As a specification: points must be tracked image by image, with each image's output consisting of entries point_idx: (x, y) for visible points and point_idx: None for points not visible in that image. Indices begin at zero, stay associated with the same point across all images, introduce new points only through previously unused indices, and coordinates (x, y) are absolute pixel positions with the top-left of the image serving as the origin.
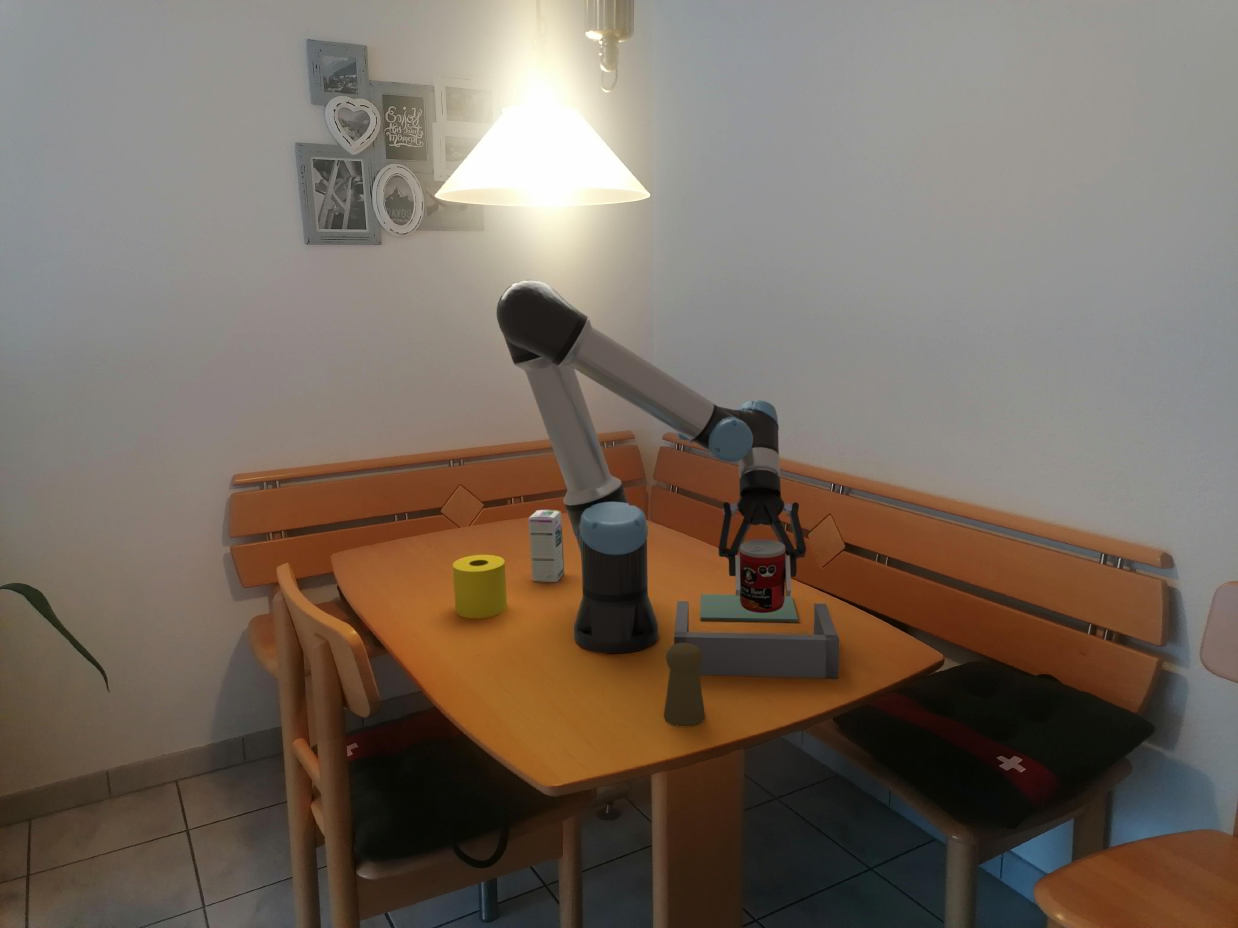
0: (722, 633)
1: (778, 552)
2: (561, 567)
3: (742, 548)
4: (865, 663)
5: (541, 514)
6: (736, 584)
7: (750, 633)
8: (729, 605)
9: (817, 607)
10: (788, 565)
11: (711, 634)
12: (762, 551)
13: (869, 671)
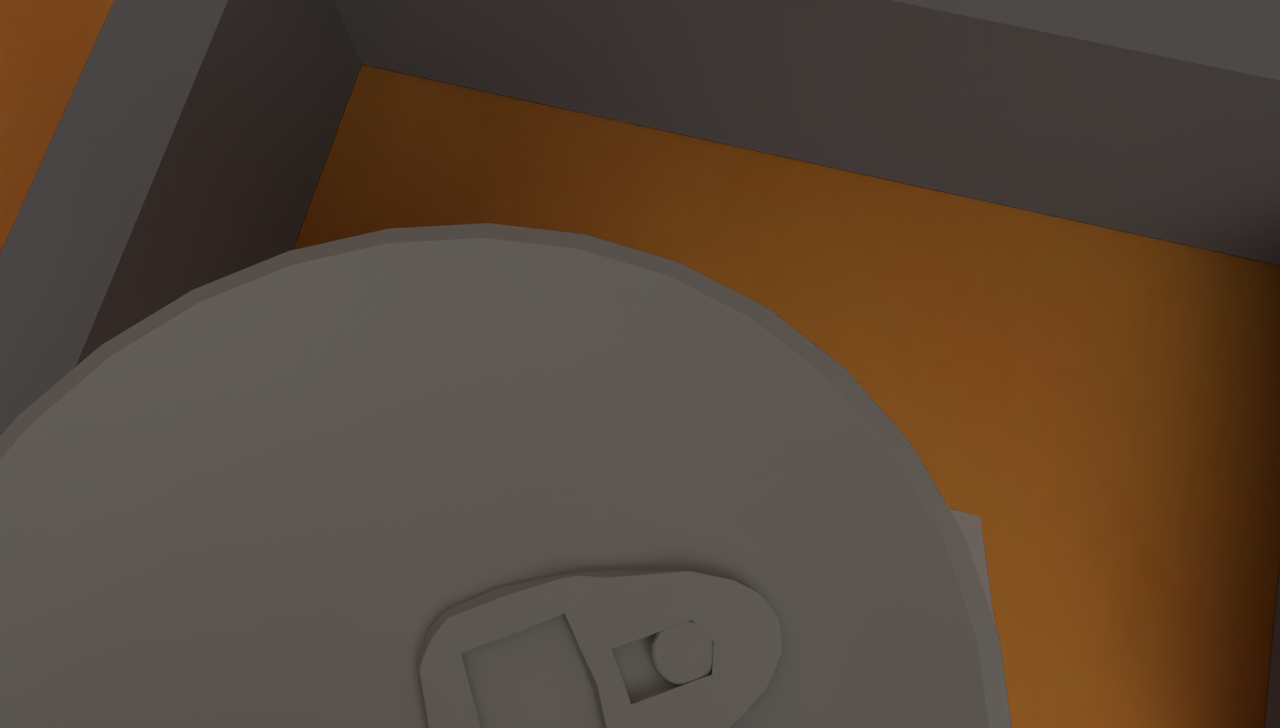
0: (1160, 40)
1: (223, 282)
2: None
3: (981, 686)
4: (16, 137)
5: None
6: (976, 558)
7: (903, 2)
8: None
9: None
10: None
11: (1265, 37)
12: (512, 524)
13: (60, 30)
